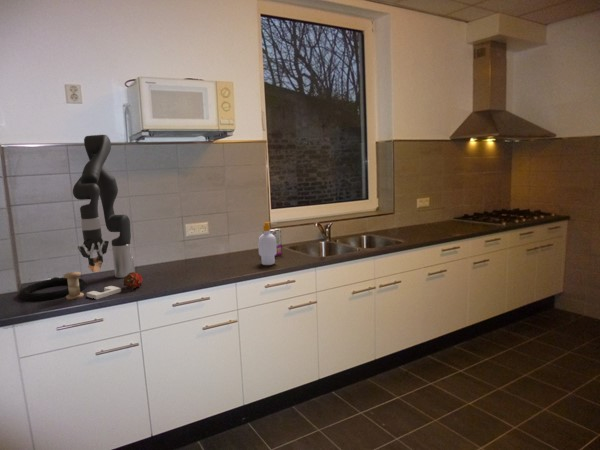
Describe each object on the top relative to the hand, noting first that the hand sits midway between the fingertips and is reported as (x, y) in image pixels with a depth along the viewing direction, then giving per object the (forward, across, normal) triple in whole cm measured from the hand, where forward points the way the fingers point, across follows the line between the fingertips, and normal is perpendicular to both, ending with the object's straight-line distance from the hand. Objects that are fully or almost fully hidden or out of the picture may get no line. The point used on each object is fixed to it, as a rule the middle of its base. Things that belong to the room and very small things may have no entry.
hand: (96, 264), depth 184 cm
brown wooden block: (+2, 0, -2) cm, 3 cm away
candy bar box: (+17, -98, +26) cm, 103 cm away
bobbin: (+14, +8, -7) cm, 18 cm away
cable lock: (+15, +8, -26) cm, 31 cm away
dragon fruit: (+15, -14, +5) cm, 21 cm away
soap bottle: (+16, -80, +36) cm, 90 cm away
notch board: (+14, -1, +1) cm, 15 cm away
